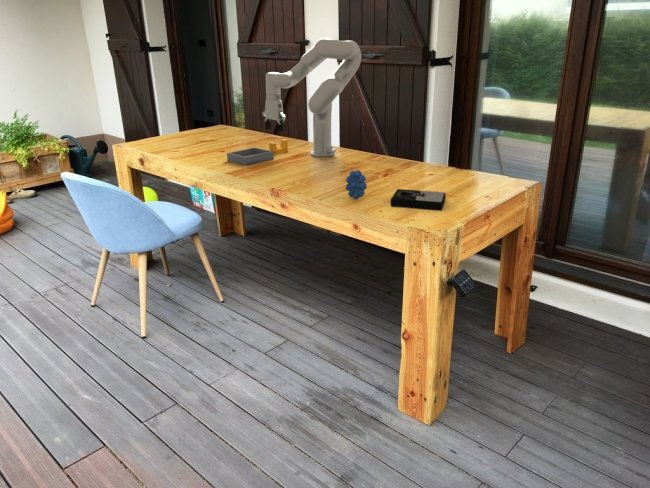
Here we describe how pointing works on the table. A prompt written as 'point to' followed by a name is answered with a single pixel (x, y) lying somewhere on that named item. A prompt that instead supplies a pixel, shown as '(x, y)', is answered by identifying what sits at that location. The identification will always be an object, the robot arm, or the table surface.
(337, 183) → the table surface
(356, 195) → the grapes
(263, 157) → the tray
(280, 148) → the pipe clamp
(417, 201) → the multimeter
